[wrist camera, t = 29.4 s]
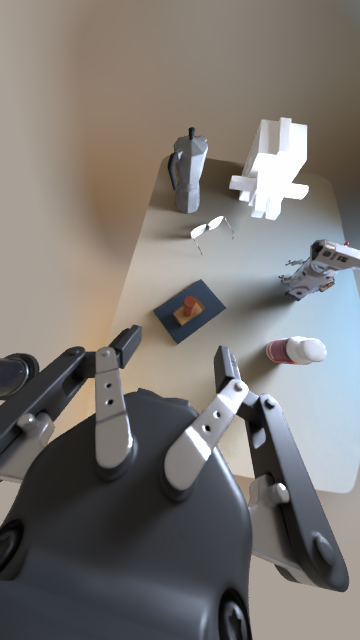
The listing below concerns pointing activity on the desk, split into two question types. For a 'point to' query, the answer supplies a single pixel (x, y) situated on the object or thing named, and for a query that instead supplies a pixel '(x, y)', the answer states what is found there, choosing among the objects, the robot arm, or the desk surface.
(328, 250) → the figurine
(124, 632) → the robot arm
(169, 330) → the mat
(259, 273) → the desk surface
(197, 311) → the stamp
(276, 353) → the pill bottle
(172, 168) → the coffeepot
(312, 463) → the desk surface
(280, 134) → the white voxel figure
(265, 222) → the desk surface
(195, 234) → the eyeglasses
